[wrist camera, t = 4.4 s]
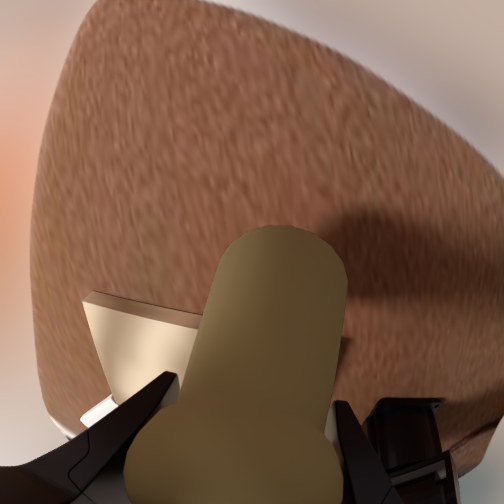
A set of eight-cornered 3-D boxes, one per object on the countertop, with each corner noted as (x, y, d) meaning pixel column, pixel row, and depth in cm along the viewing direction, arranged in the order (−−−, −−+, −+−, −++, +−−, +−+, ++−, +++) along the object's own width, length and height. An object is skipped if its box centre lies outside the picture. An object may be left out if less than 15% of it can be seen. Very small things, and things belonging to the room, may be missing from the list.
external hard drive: (84, 412, 34) (115, 389, 29) (131, 445, 35) (174, 430, 30) (79, 420, 32) (109, 399, 27) (126, 453, 34) (170, 441, 29)
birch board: (330, 335, 20) (331, 350, 19) (296, 432, 26) (295, 445, 24) (92, 290, 22) (82, 301, 21) (122, 393, 28) (116, 403, 26)
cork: (351, 333, 14) (350, 564, 5) (234, 341, 16) (158, 540, 6) (341, 215, 12) (373, 527, 2) (200, 235, 14) (32, 453, 4)
